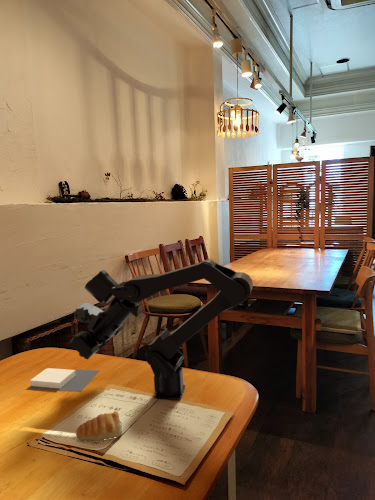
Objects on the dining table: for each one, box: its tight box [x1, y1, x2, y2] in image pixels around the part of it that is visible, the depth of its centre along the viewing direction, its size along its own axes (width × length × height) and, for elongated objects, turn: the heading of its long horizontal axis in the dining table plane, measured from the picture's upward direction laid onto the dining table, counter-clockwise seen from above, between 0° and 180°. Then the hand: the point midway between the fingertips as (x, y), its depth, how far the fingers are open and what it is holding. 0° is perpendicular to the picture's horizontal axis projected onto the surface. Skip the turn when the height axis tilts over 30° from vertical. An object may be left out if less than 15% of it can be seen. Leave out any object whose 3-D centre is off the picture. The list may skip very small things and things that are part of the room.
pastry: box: [75, 410, 123, 442], centre depth 78 cm, size 9×7×4 cm
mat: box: [28, 368, 100, 393], centre depth 102 cm, size 15×12×1 cm
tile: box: [29, 367, 76, 389], centre depth 102 cm, size 2×8×9 cm
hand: (80, 355), depth 99 cm, fingers closed
